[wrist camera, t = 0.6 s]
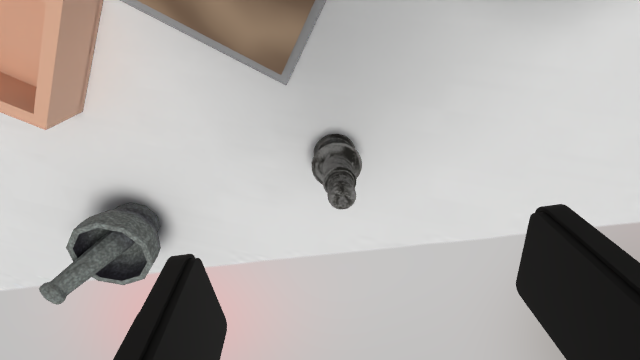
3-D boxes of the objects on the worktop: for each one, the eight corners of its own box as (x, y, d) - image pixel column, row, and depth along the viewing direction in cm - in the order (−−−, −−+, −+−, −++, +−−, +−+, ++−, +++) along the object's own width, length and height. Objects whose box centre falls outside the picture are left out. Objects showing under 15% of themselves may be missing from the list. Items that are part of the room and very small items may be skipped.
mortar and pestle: (148, 183, 42) (95, 244, 32) (186, 236, 46) (150, 305, 36) (75, 208, 44) (2, 274, 33) (118, 257, 48) (66, 329, 38)
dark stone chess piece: (308, 171, 42) (309, 229, 32) (314, 129, 39) (316, 176, 29) (353, 176, 43) (368, 233, 32) (361, 134, 40) (381, 182, 29)
